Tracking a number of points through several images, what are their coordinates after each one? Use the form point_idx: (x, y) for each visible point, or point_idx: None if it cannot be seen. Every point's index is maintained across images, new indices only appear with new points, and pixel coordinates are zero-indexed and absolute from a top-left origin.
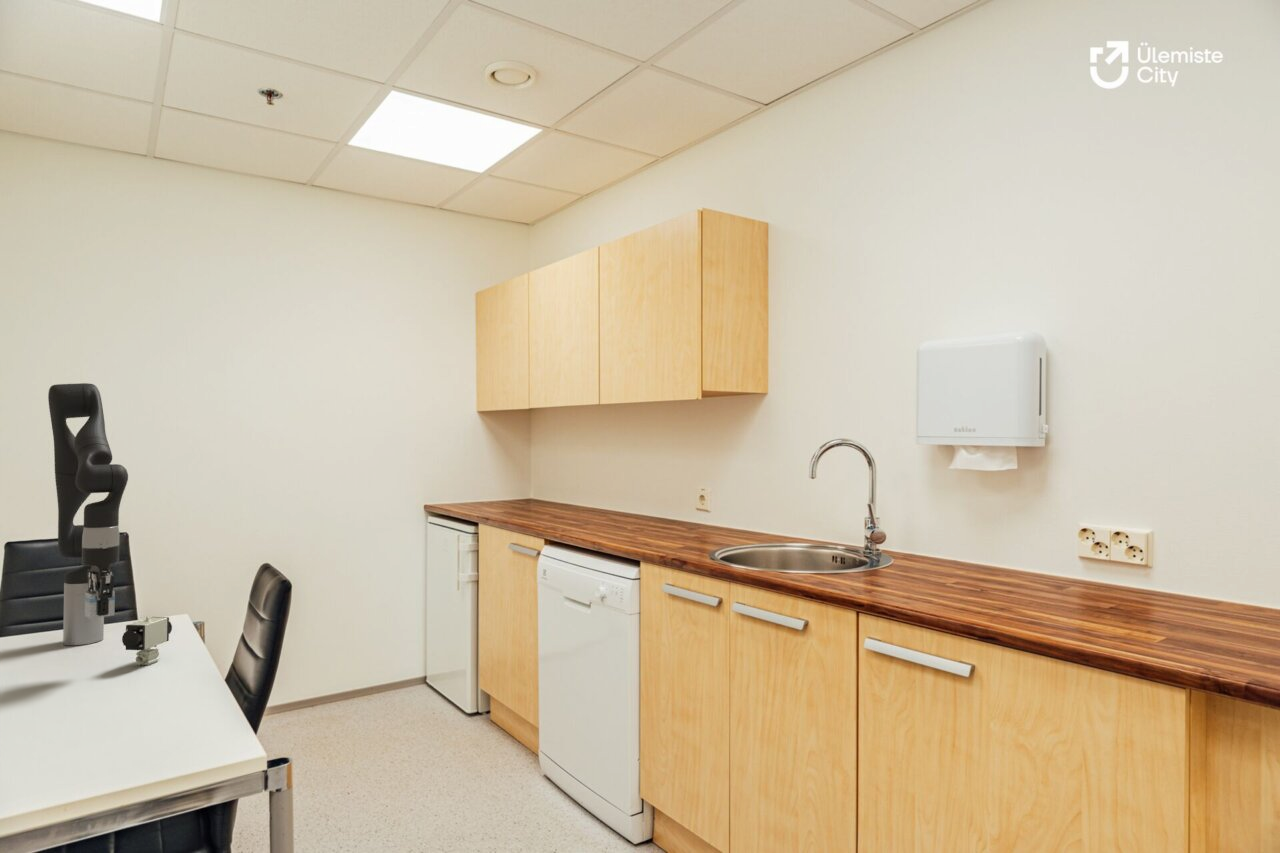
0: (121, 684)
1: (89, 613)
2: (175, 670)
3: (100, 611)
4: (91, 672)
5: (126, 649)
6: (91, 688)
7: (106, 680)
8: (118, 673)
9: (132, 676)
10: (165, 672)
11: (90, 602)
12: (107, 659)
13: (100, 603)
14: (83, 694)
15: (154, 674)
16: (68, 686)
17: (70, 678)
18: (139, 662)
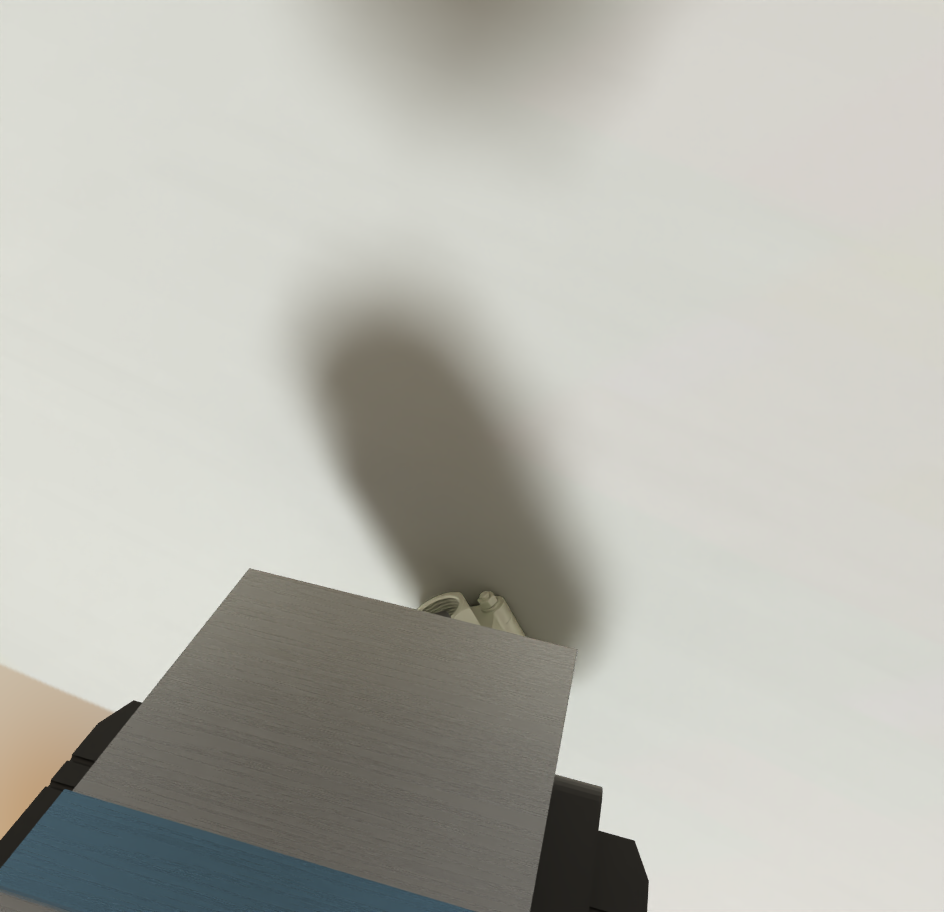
0: (87, 315)
1: (242, 636)
2: (175, 620)
3: (100, 730)
4: (600, 349)
5: (438, 612)
6: (128, 150)
7: (265, 306)
8: (388, 435)
9: (233, 443)
10: (174, 576)
11: (51, 812)
12: (894, 590)
13: (2, 861)
14: (6, 44)
15: (177, 527)
16: (319, 58)
17: (566, 171)
18: (456, 605)
